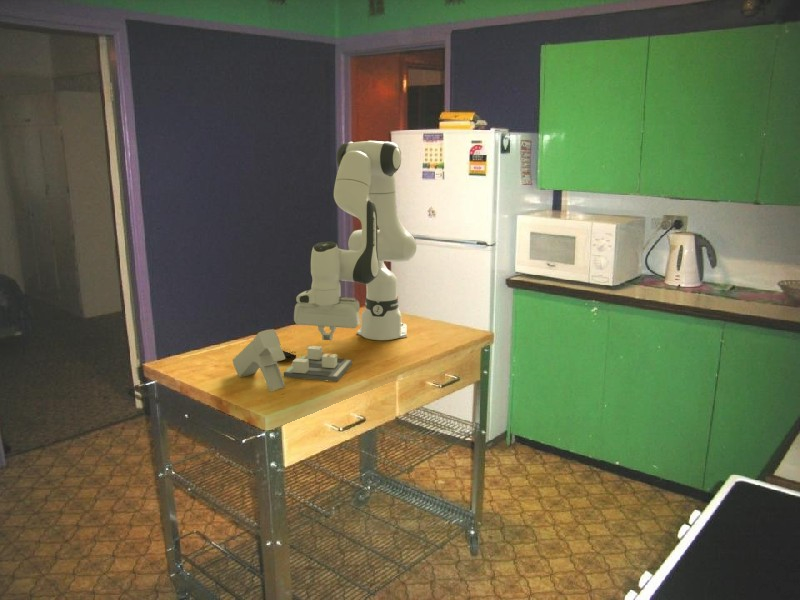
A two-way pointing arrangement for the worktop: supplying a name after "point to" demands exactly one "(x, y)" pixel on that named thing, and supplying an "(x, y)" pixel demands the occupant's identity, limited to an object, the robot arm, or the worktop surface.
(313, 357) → the block
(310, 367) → the panel
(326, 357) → the breaker
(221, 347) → the worktop surface
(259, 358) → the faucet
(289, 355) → the hairbrush
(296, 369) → the block
